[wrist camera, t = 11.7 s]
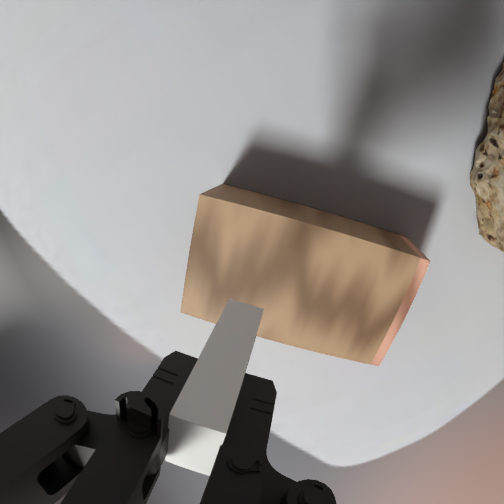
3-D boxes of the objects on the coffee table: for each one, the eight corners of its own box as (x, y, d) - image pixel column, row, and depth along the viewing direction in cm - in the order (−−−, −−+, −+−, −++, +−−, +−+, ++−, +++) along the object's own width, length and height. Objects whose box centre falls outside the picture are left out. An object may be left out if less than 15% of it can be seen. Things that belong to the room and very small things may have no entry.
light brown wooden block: (199, 194, 17) (430, 261, 16) (222, 183, 22) (406, 237, 21) (180, 312, 20) (379, 366, 19) (203, 281, 25) (369, 327, 24)
